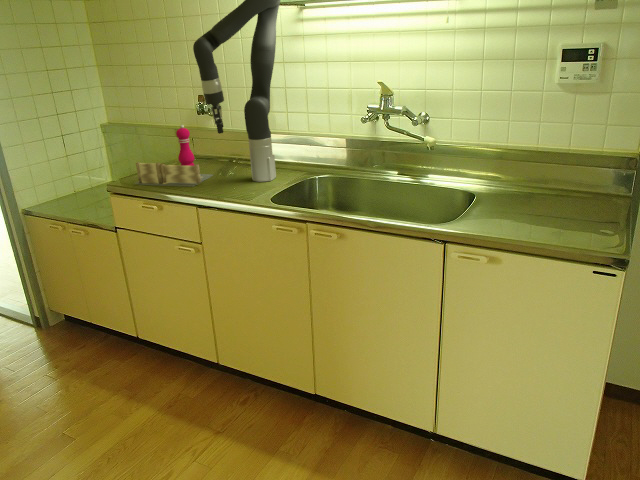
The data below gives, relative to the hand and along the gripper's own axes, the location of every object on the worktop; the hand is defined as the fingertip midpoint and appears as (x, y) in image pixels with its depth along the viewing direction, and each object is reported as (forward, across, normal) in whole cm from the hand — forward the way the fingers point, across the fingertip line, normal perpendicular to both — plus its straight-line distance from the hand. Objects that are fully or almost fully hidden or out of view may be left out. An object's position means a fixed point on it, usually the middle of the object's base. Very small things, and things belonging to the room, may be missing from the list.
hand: (220, 130), depth 223 cm
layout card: (+19, +3, +24) cm, 31 cm away
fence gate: (+17, -6, +20) cm, 27 cm away
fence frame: (+17, 0, +33) cm, 37 cm away
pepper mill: (+22, +24, +20) cm, 38 cm away
